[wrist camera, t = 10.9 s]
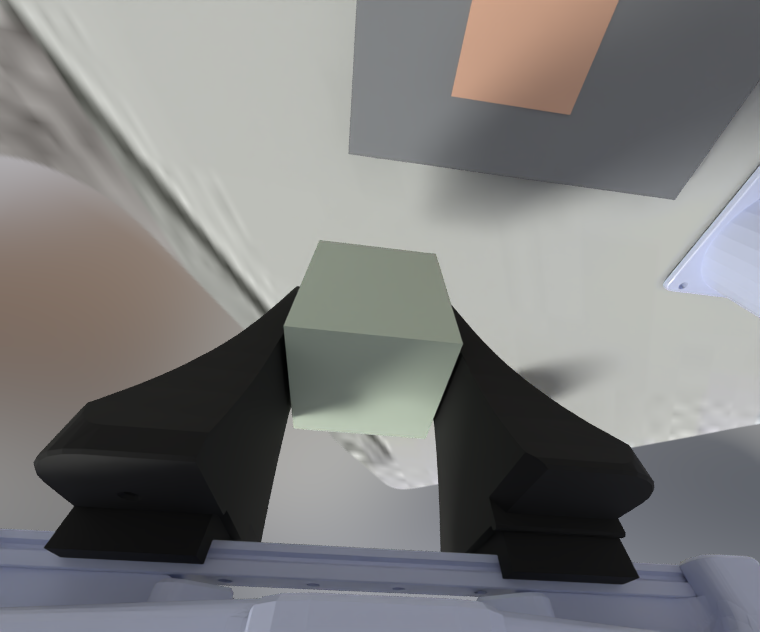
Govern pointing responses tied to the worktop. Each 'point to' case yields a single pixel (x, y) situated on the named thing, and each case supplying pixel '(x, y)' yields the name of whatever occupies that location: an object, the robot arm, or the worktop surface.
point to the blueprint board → (553, 86)
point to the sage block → (370, 341)
